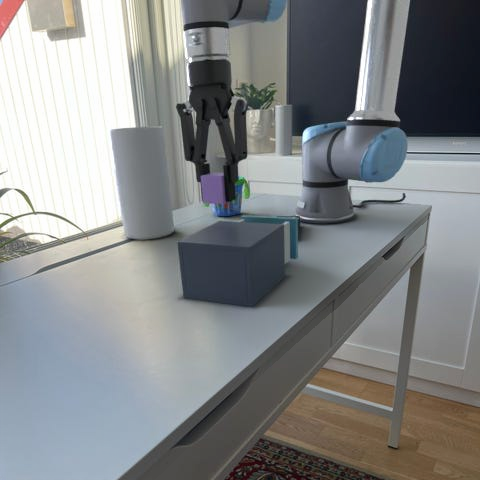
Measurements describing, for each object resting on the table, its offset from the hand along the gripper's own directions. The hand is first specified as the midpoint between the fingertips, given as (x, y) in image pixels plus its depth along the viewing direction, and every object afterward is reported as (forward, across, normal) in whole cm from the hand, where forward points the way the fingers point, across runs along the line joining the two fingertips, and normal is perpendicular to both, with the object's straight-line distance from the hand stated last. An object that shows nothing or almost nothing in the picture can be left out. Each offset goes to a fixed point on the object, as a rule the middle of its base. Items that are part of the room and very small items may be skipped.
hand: (218, 199), depth 90 cm
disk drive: (+13, +2, +24) cm, 28 cm away
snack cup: (+13, -21, +42) cm, 48 cm away
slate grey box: (+13, +8, -11) cm, 19 cm away
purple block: (0, 0, 0) cm, 0 cm away
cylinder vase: (+13, -30, +16) cm, 36 cm away
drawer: (+12, +8, +1) cm, 14 cm away
